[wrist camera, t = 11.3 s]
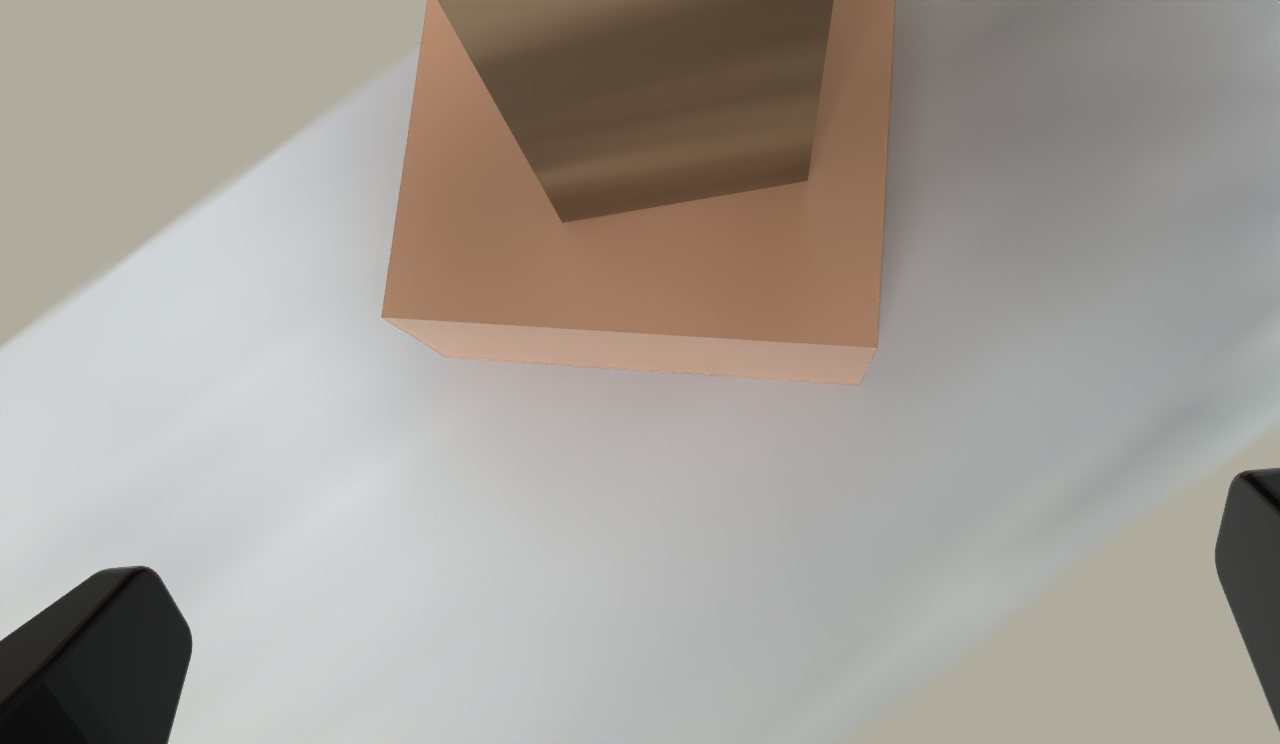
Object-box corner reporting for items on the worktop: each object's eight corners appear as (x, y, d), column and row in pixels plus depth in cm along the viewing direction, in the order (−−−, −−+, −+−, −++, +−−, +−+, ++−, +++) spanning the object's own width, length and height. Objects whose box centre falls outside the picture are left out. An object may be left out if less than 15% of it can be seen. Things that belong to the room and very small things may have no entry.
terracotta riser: (858, 388, 21) (877, 348, 17) (451, 360, 22) (381, 317, 18) (879, 0, 22) (901, -119, 18) (498, -3, 23) (444, -115, 20)
